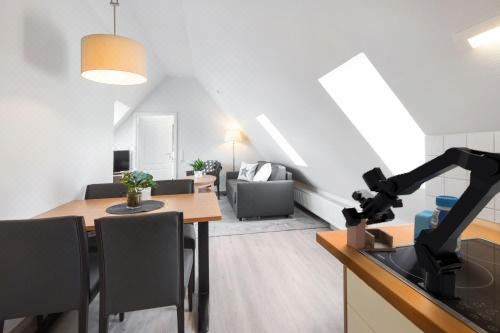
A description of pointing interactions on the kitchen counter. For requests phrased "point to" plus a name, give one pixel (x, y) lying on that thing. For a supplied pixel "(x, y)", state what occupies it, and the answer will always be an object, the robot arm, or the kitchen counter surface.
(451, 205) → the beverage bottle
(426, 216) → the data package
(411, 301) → the kitchen counter surface
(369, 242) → the book rack
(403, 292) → the kitchen counter surface
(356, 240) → the pink tall block
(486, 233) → the kitchen counter surface
